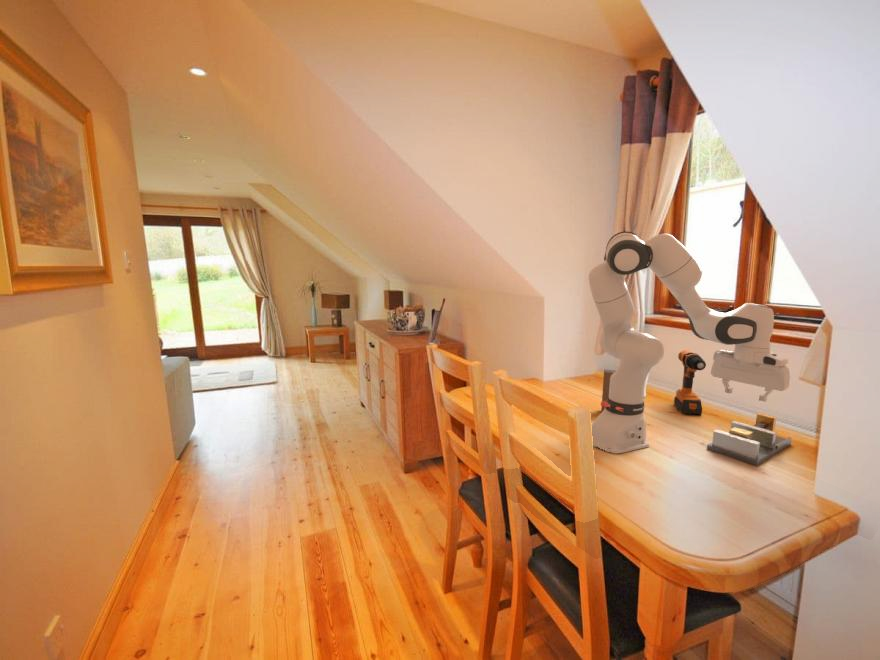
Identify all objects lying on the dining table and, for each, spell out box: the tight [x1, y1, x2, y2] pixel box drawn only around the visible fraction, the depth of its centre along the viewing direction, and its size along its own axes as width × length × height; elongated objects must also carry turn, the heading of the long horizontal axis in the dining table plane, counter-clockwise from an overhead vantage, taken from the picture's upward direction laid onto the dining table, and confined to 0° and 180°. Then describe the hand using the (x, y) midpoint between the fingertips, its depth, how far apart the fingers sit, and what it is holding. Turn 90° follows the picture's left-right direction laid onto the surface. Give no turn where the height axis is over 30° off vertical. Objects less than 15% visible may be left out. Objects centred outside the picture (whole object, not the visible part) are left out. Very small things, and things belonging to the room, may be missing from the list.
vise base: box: [706, 429, 792, 467], centre depth 137 cm, size 28×14×6 cm, turn 123°
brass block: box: [729, 427, 753, 440], centre depth 133 cm, size 4×5×6 cm
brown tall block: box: [600, 369, 617, 414], centre depth 167 cm, size 9×4×18 cm, turn 66°
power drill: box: [673, 349, 707, 415], centre depth 168 cm, size 22×7×25 cm, turn 165°
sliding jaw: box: [730, 412, 777, 449], centre depth 140 cm, size 13×12×7 cm
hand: (744, 396), depth 130 cm, fingers open, 8 cm apart
